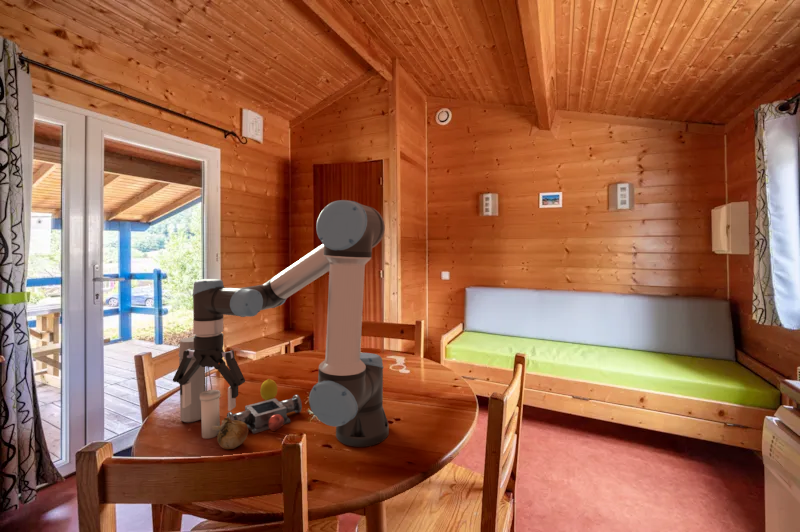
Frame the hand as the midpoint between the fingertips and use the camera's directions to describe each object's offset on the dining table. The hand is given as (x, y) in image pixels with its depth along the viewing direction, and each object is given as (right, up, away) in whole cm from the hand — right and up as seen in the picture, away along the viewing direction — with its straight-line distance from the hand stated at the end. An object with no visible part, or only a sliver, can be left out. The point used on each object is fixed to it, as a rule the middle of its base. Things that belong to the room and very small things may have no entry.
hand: (209, 407), depth 104 cm
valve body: (+14, -8, +7) cm, 18 cm away
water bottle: (-9, -8, +10) cm, 16 cm away
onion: (+9, -8, -6) cm, 14 cm away
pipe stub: (0, -8, 0) cm, 8 cm away
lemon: (+9, -7, +23) cm, 25 cm away
